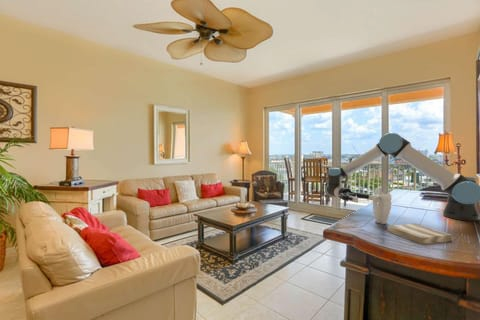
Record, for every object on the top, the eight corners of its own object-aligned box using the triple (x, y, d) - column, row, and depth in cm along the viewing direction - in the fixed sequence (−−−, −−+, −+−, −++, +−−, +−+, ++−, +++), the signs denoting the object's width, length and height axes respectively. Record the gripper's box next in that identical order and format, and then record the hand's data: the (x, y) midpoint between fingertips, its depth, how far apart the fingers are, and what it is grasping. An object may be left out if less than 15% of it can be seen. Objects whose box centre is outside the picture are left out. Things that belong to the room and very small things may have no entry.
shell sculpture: (391, 226, 120) (391, 190, 119) (372, 223, 124) (372, 188, 123) (390, 222, 127) (391, 188, 126) (372, 219, 131) (373, 186, 130)
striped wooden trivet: (415, 228, 116) (415, 223, 116) (451, 240, 100) (451, 234, 100) (387, 231, 112) (387, 225, 112) (420, 244, 96) (420, 237, 96)
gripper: (359, 198, 158) (386, 205, 137) (325, 199, 152) (348, 207, 132) (359, 187, 158) (386, 192, 137) (326, 188, 152) (348, 193, 131)
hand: (367, 199), depth 134 cm, fingers open, 13 cm apart
